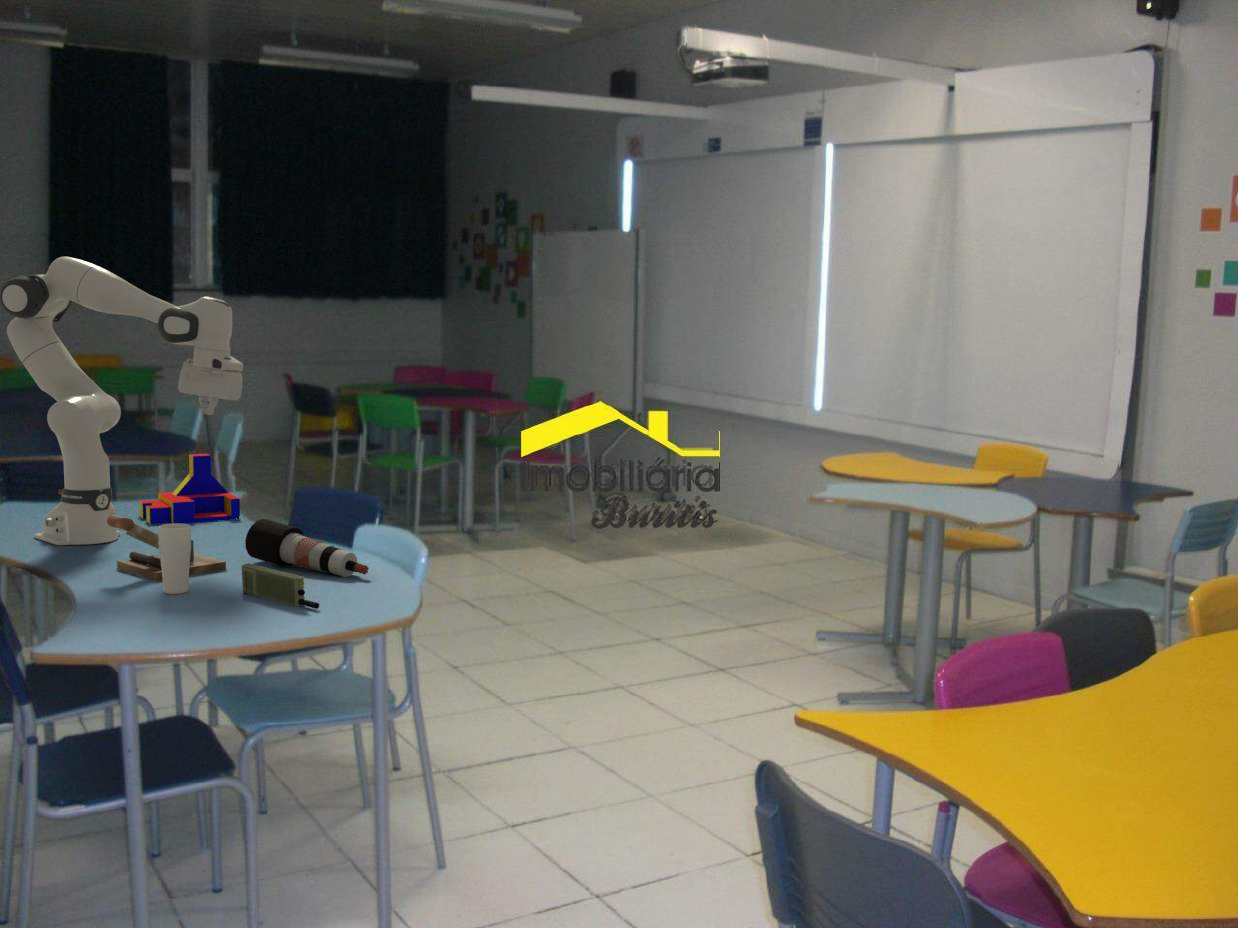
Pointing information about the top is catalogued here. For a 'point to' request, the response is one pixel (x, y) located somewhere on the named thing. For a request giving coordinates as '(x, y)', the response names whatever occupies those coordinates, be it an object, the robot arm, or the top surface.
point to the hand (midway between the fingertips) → (207, 414)
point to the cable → (298, 549)
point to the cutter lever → (134, 530)
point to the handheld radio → (275, 585)
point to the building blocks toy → (193, 498)
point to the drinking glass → (175, 557)
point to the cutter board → (157, 572)
